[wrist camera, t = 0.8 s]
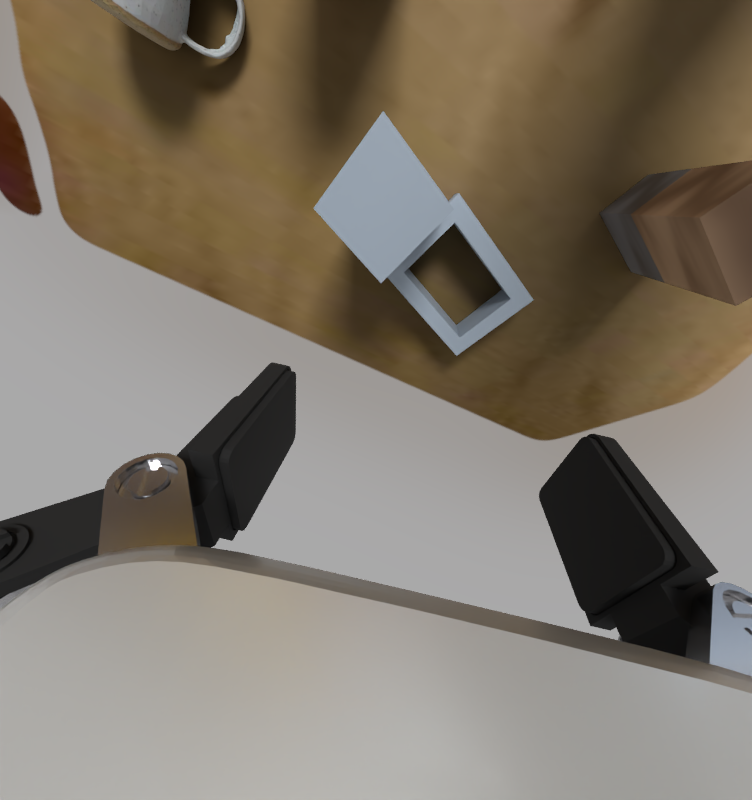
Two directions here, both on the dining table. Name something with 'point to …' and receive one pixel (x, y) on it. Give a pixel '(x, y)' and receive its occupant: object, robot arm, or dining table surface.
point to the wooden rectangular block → (689, 229)
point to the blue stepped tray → (412, 231)
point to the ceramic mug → (171, 23)
